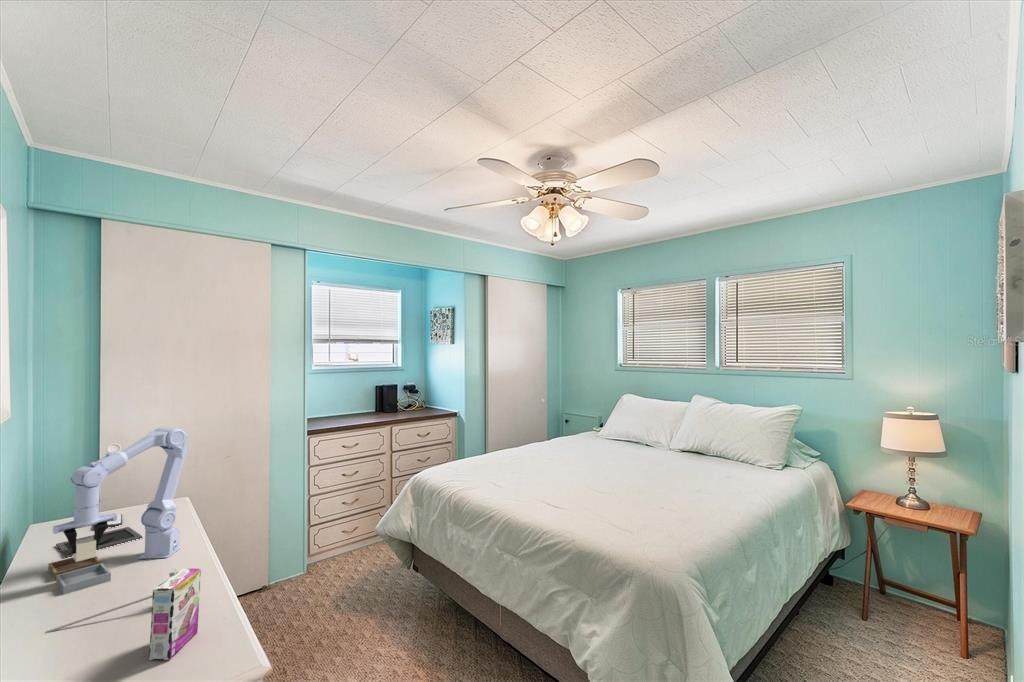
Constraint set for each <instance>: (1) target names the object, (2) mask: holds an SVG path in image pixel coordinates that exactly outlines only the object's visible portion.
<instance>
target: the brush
mask: <svg viewBox="0 0 1024 682" xmlns="http://www.w3.org/2000/svg"><path fill="white" fill-rule="evenodd" d="M177 572H178V568H176V569H174V571H172V572H169V574H168V575H169V578H170V577H172V576H173V575H175V574H176V573H177ZM148 599H153V594H151V595H149V596H145V597H143V598H139V599H136V600H133V601H131V602H128V603H124V604H122V605H119V606H116V607H112V608H111V609H107V610H104V611H102V612H99V613H95V614H92V615H88V616H86V617H83V618H80V619H78V620H74V621H72V622H69V623H65V624H63V625H60V626H57V627H54V628H51V629H47V630H45V634H49V633H52V632H55V631H58V630H61V629H64V628H67V627H69V626H73V625H75V624H79V623H82V622H84V621H88V620H90V619H93V618H97V617H100V616H102V615H105V614H107V613H110V612H113V611H117V610H119V609H122V608H125V607H129V606H131V605H134V604H137V603H139V602H143V601H146V600H148Z"/></svg>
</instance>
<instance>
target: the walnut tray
mask: <svg viewBox="0 0 1024 682" xmlns="http://www.w3.org/2000/svg"><path fill="white" fill-rule="evenodd" d="M101 563H102V562H101V560H100V558H98V557H97V556H96V557H93V558H89V559H85V560H82V561H78V562H76V561H75V560H74V559H73V557H70V558H66V559H62V560H61V559H60V560H57V561H54V562H50V563H48V566H47V568H48V570H47V571H48V573H49V575H50V576H51V578H52V579H53V581H54V582H56V575H60V574H63V573H67V572H71V571H75V570H78V569H82V568H86V567H89V566H93V565H97V564H101Z"/></svg>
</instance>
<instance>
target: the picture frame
mask: <svg viewBox="0 0 1024 682" xmlns="http://www.w3.org/2000/svg"><path fill="white" fill-rule="evenodd" d="M91 537H93V538H94V534H93V535H92V534H91V535H88V536H84V537H79V538H76V541H78V540H82V539H86V538H91ZM140 538H142V539H143V536H142V534H140V533H138V532H137V531H136V530H134V528H131V527H129V526H126V527H121V528H118V529H113V530H109V531H106V532H104V533H103V535H102V537H101V539H100V542H99V545H98V548H96V550H97V551H100V550H99V549H101V550H104V549H107V548H106V547H108V548H111V547H110V546H112V547H115V546H114V545H116V546H118V545H117V544H120V545H122V544H121V543H124V544H126V543H125V542H128V541H131V542H133V541H132V540H135V541H137V540H136V539H139V540H141V539H140ZM128 543H129V542H128ZM56 546H57V547H58V548H59V549H60V550H61V551H60V550H59V549H58V548H57V547H56ZM55 547H56V548H57V549H58V550H59V551H60V552H61V554H63V556H64V557H66V559H69V558H68V557H70V558H73V557H72V556H73V554H72V553H71V547H70V544H69V541H68V540H66V541H63V542H58V543H56V544H55ZM103 548H104V549H103Z"/></svg>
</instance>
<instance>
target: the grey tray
mask: <svg viewBox="0 0 1024 682" xmlns="http://www.w3.org/2000/svg"><path fill="white" fill-rule="evenodd" d="M111 580H112V572H111V571H110V570H109V569H108V568H107V566H106V565H105V564H104V563H103V562H101V563H100V564H97V565H93V566H89V567H86V568H82V569H78V570H75V571H71V572H67V573H63V574H60V575H56V581H55V584H56V586H57V588H59V590H60V592H61V594H62V595H66V594H71V593H74V592H77V591H80V590H81V591H82V590H84V589H87V588H90V587H94V586H97V585H100V584H103V583H108V582H110V581H111ZM107 581H108V582H107Z"/></svg>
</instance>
